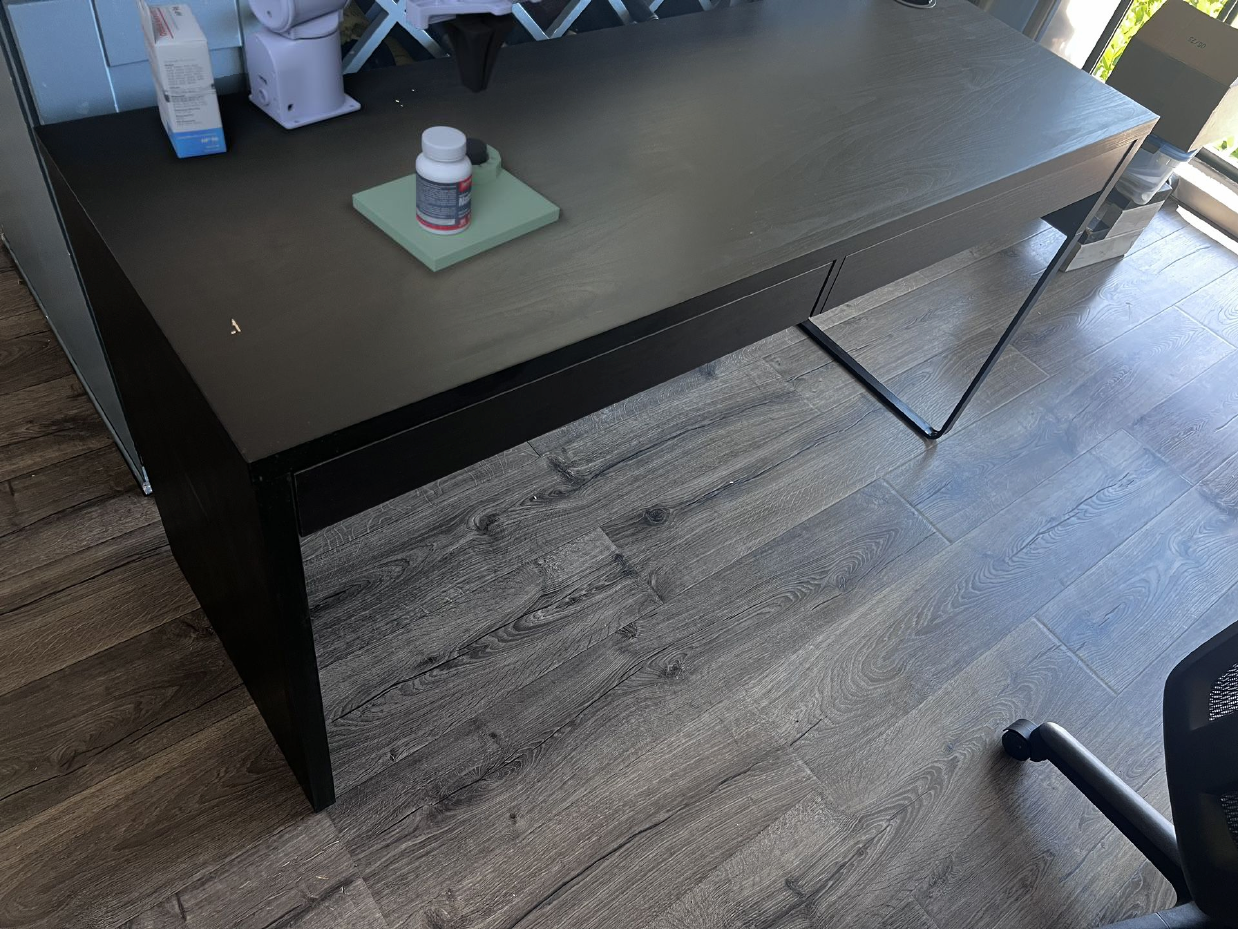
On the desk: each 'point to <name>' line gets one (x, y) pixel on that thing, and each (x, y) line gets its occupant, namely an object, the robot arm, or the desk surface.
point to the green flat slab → (494, 214)
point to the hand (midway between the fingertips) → (474, 87)
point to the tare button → (476, 151)
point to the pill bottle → (443, 182)
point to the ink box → (182, 78)
